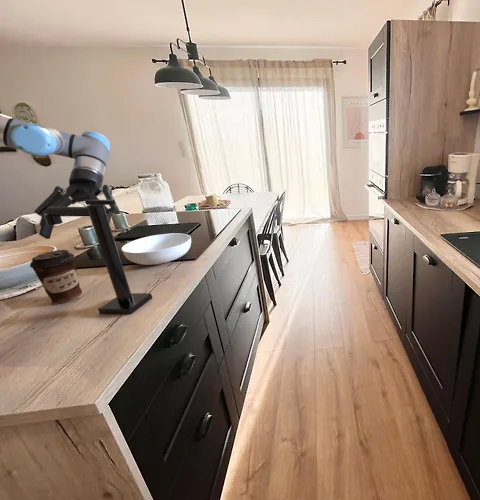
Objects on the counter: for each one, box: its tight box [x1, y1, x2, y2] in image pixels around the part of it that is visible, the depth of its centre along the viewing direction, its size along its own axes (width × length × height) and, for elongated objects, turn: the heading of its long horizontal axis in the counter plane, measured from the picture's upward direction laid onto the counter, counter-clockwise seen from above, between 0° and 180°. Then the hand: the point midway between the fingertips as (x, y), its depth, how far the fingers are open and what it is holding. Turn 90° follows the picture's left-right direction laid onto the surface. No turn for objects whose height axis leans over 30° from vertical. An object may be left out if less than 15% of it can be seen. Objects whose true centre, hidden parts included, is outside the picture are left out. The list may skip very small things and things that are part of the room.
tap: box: [44, 199, 153, 315], centre depth 70 cm, size 17×8×28 cm, turn 88°
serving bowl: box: [120, 232, 192, 266], centre depth 103 cm, size 21×21×7 cm
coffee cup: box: [29, 249, 84, 305], centre depth 76 cm, size 9×8×13 cm
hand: (72, 235), depth 82 cm, fingers open, 13 cm apart
